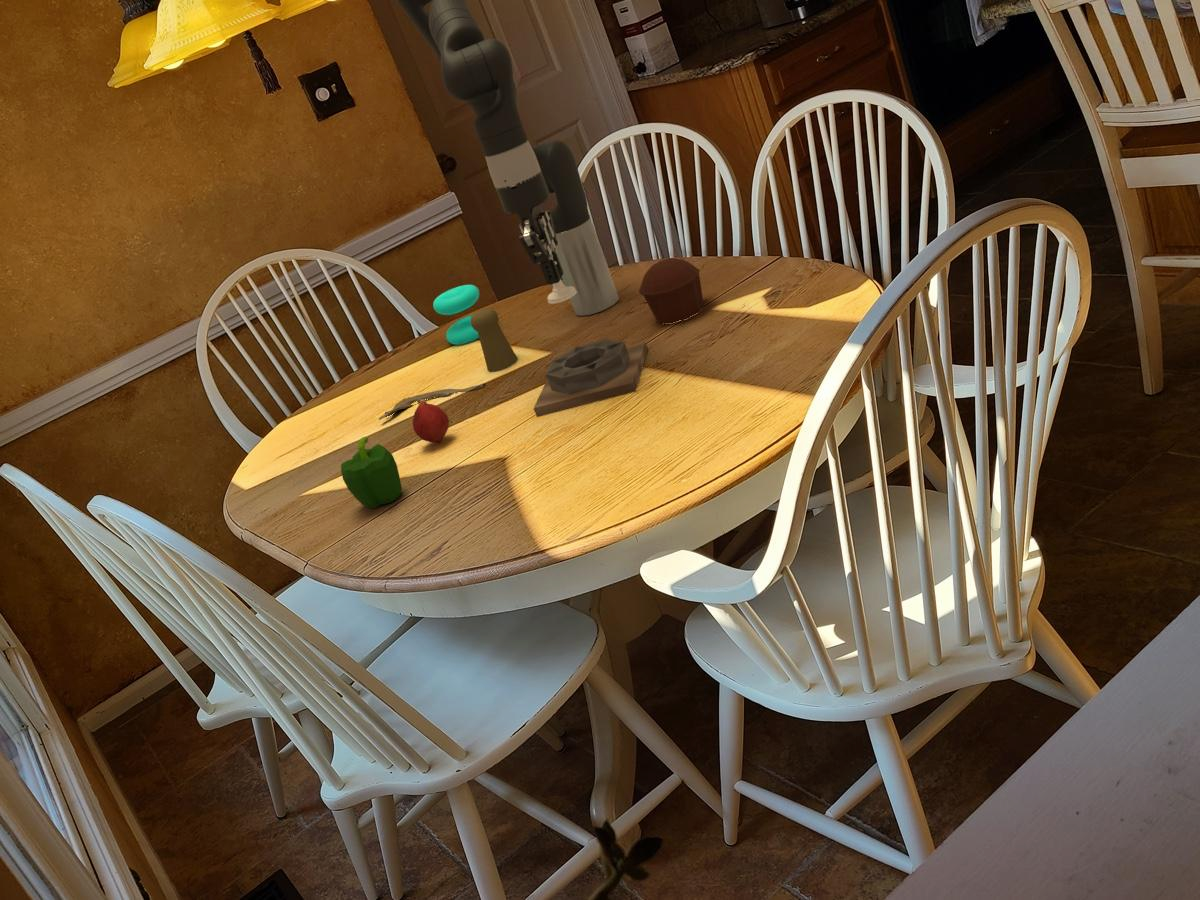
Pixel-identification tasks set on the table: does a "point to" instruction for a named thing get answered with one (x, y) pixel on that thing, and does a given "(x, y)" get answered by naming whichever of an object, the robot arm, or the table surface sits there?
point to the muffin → (672, 290)
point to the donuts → (456, 303)
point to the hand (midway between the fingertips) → (555, 279)
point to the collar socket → (591, 375)
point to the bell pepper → (372, 475)
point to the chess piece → (560, 291)
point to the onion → (430, 422)
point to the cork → (493, 340)
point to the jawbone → (418, 398)
